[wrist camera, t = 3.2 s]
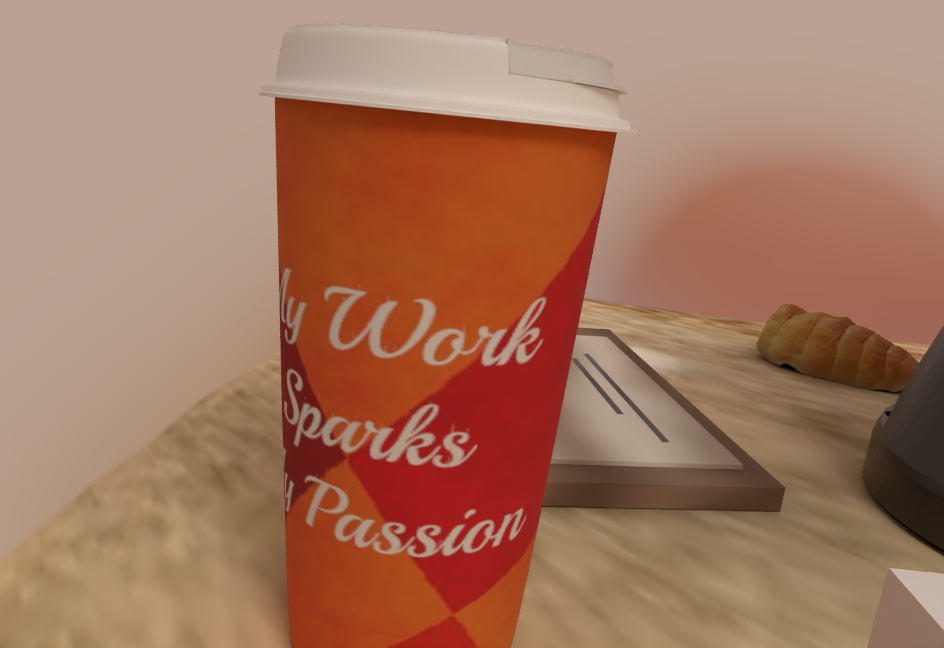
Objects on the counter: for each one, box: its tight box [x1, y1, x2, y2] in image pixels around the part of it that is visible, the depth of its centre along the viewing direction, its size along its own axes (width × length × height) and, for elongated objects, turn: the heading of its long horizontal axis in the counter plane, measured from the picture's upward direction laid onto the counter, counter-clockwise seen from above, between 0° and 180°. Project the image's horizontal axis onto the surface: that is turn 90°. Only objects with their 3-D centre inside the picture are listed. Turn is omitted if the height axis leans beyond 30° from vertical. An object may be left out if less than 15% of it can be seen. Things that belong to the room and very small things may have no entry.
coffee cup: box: [259, 24, 639, 648], centre depth 19 cm, size 8×8×15 cm
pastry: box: [757, 304, 919, 392], centre depth 50 cm, size 9×7×4 cm
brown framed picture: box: [542, 328, 785, 511], centre depth 39 cm, size 14×22×2 cm, turn 8°
